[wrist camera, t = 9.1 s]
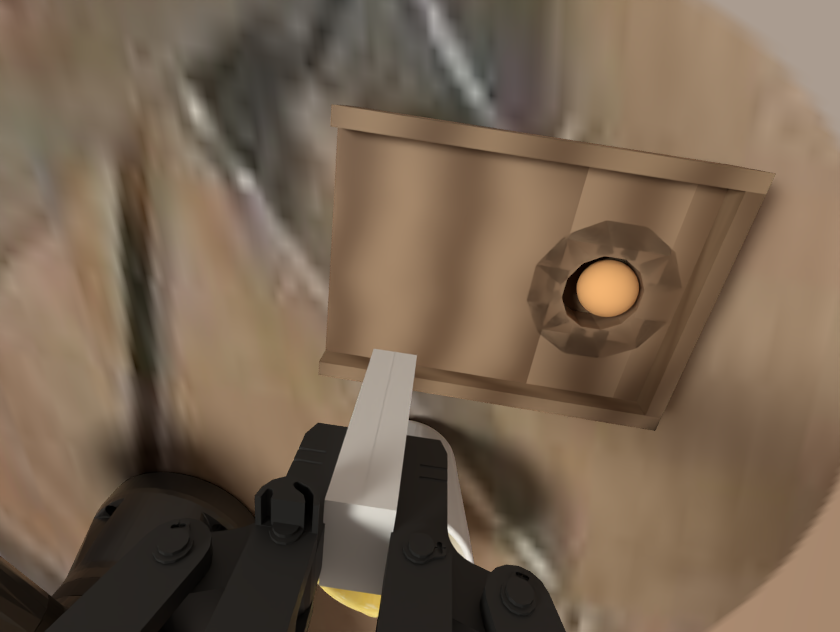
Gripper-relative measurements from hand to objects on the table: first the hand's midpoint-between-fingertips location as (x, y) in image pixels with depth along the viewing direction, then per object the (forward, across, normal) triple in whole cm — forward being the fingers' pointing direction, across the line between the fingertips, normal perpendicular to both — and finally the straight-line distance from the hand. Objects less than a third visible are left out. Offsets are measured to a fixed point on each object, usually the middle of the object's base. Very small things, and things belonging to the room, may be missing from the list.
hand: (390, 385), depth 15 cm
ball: (+13, +12, +1) cm, 17 cm away
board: (+15, +6, +1) cm, 16 cm away
